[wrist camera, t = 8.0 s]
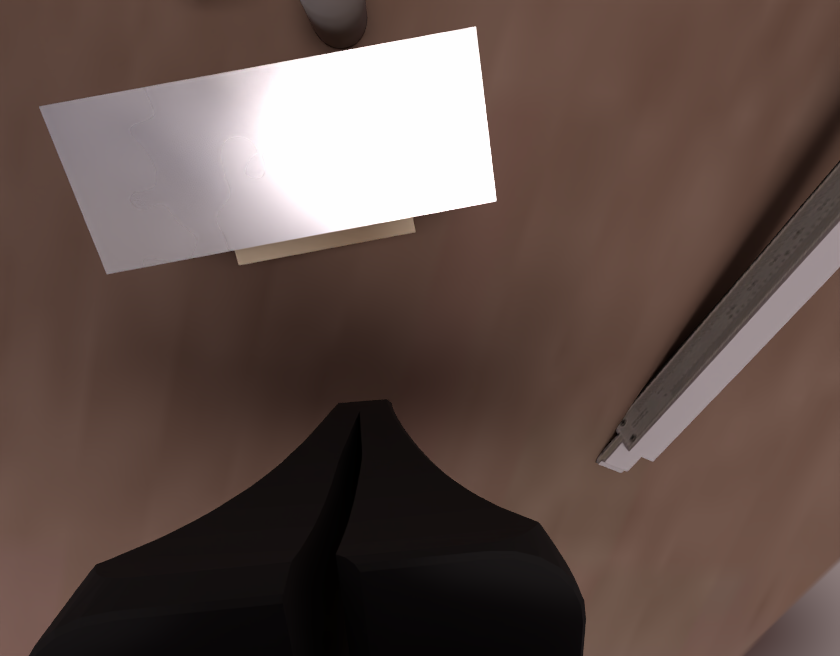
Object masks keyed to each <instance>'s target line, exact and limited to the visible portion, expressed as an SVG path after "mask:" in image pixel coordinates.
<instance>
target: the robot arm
mask: <svg viewBox="0 0 840 656" xmlns="http://www.w3.org/2000/svg"><path fill="white" fill-rule="evenodd" d="M585 624H586V615H585V604H584V599H583V597H582V595H581V593H580V590H579V587H578V585H577V583H576V580H575V578H574V576H573V574H572V572H571V571H570V569H569V567H568V565H567V563H566V562H565V560H564V559H563V557H562V555H561V554H560V552H559V551H558V549H557V548H556V546H555V545H554V543H553V542H552V540H551V539H550V537H549V536H548V534H547V533H546V531H545V530H544V529H543V527H542V526H541V524H540V523H539V522H537V521H534V520H532V519H529V518H526V517H524V516H521V515H519V514H516V513H514V512H511V511H509V510H506V509H504V508H501V507H499V506H497V505H495V504H493V503H491V502H489V501H487V500H485V499H483V498H481V497H479V496H478V495H476V494H474V493H472V492H471V491H469V490H467V489H466V488H464V487H463V486H461V485H460V484H458V483H457V482H456V481H454V480H453V479H451V478H450V477H449V476H447V475H446V474H445V473H444V472H442V471H441V470H440V469H439V468H438V467H437V466H436V465H435V464H434V463H433V462H432V461H431V460H430V459H429V458H428V457H427V456H426V455H425V454H424V453H423V452H422V451H421V450H420V449H419V447H418V446H417V445H416V444H415V443H414V441H413V440H412V439H411V438H410V436H409V435H408V433H407V432H406V431H405V429H404V428H403V426H402V425H401V423H400V421H399V420H398V418H397V416H396V414H395V412H394V410H393V407H392V403H391V402H390V401H388V400H387V399H385V400H373V401H360V402H348V403H338V404H337V405H336V407H335V408H334V409H333V410H332V411H331V412H330V413H329V414H328V415H327V417H326V418H325V419H324V420H323V421H322V422H321V423H320V425H319V426H318V427H317V428H316V429H315V430H314V431H313V432H312V433H311V435H310V436H309V437H308V438H307V439H306V440H305V441H304V442H303V443H302V444H301V445H300V446H299V447H298V448H297V449H296V450H295V451H293V452H292V453H291V454H290V455H289V456H288V457H287V458H286V459H285V460H284V461H283V462H282V463H281V464H279V465H278V466H277V467H276V468H275V469H273V470H272V471H271V472H270V473H268V474H267V475H266V476H264V477H263V478H262V479H260V480H259V481H258V482H256V483H255V484H254V485H252V486H251V487H249V488H248V489H247V490H245V491H243V492H242V493H240V494H239V495H237V496H236V497H234V498H232V499H231V500H229V501H228V502H226V503H224V504H223V505H221V506H220V507H218V508H217V509H215V510H213V511H211V512H210V513H208V514H206V515H204V516H202V517H201V518H199V519H197V520H195V521H193V522H191V523H189V524H187V525H185V526H184V527H182V528H180V529H178V530H176V531H174V532H172V533H170V534H167V535H165V536H163V537H161V538H159V539H157V540H155V541H152V542H150V543H147V544H145V545H143V546H140V547H138V548H136V549H133V550H131V551H128V552H126V553H124V554H121V555H119V556H117V557H114V558H112V559H109V560H107V561H104V562H102V563H99V564H96V565H95V567H94V568H93V569H92V570H91V571H90V573H89V574H88V575H87V577H86V578H85V579H84V581H83V582H82V583H81V585H80V586H79V587H78V589H77V590H76V591H75V592H74V594H73V595H72V597H71V598H70V599H69V601H68V602H67V603H66V605H65V606H64V607H63V609H62V610H61V611H60V613H59V614H58V615H57V617H56V618H55V619H54V621H53V622H52V623H51V625H50V626H49V627H48V629H47V630H46V631H45V633H44V634H43V635H42V637H41V638H40V639H39V641H38V642H37V643H36V645H35V646H34V648H33V650H32V651H31V653H30V655H29V656H583V648H584V636H585Z"/></svg>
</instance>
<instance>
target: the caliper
mask: <svg viewBox="0 0 840 656" xmlns="http://www.w3.org/2000/svg"><path fill="white" fill-rule="evenodd" d="M839 267H840V161H839V162H838V163H837V164H836V166H835V167H834V168H833V169H832V170H831V171H830V173H829V174H828V175H827V176H826V177H825V178H824V180H823V181H822V182H821V183H820V184H819V185H818V187H817V188H816V189H815V190H814V191H813V192H812V194H811V195H810V196H809V197H808V198H807V199H806V201H805V202H804V203H803V204H802V205H801V206H800V208H799V209H798V210H797V211H796V212H795V213H794V215H793V216H792V217H791V218H790V219H789V221H788V222H787V223H786V224H785V225H784V226H783V228H782V229H781V230H780V231H779V232H778V233H777V235H776V236H775V237H774V238H773V239H772V240H771V242H770V243H769V244H768V245H767V246H766V247H765V249H764V250H763V251H762V252H761V253H760V254H759V256H758V257H757V258H756V259H755V260H754V261H753V263H752V264H751V265H750V266H749V267H748V268H747V270H746V271H745V272H744V273H743V274H742V275H741V276H740V278H739V279H738V280H737V281H736V282H735V283H734V285H733V286H732V287H731V288H730V289H729V290H728V292H727V293H726V294H725V295H724V296H723V297H722V298H721V300H720V301H719V302H718V303H717V304H716V305H715V307H714V308H713V309H712V310H711V311H710V312H709V313H708V315H707V316H706V317H705V318H704V319H703V320H702V322H701V323H700V324H699V325H698V326H697V327H696V328H695V330H694V331H693V332H692V333H691V334H690V335H689V337H688V338H687V339H686V340H685V341H684V342H683V343H682V345H681V346H680V347H679V348H678V349H677V350H676V352H675V353H674V354H673V355H672V356H671V357H670V358H669V360H668V361H667V362H666V363H665V364H664V365H663V367H662V368H661V369H660V370H659V371H658V372H657V373H656V375H655V376H654V377H653V378H652V379H651V380H650V382H649V383H648V384H647V385H646V386H645V387H644V389H643V390H642V391H641V392H640V394H639V395H638V397H637V398H636V400H635V401H634V403H633V404H632V406H631V407H630V409H629V410H628V412H627V413H626V415H625V417H624V418H623V420H622V421H621V423H620V424H619V426H618V427H617V429H616V431H617V434H618V435H617V436H616V437H615V438H614V439H613V440H612V441H611V442H610V444H609V445H608V446H607V447H606V448H605V449H604V450H603V451H602V453H601V454H600V455H599V457H598V458H597V461H596V463H598V464H599V465H602V466H605V467H607V468H610V469H612V470H615V471H617V472H620V473H622V472H623V471H624V470H625V471H628V470H629V469H630V468H631V467H632V466H633V465H634V464H635V463H636V462H637V461H638V460H639V459H640V458H641V457H643V458H645V459H648V460H650V461H654V460H655V459H656V458H657V457H658V456H659V455H660V454H661V453H662V452H663V451H664V450H665V449H666V448H667V446H668V445H669V444H670V443H671V442H672V441H673V440H674V439H675V438H676V437H677V436H678V435H679V434H680V433H681V432H682V431H683V430H684V429H685V428H686V427H687V426H688V425H689V424H690V423H691V422H692V421H693V419H694V418H695V417H696V416H697V415H698V414H699V413H700V412H701V411H702V410H703V409H704V408H705V407H706V406H707V405H708V404H709V403H710V402H711V401H712V400H713V399H714V398H715V397H716V396H717V395H718V394H719V392H720V391H721V390H722V389H723V388H724V387H725V386H726V385H727V384H728V383H729V382H730V381H731V380H732V379H733V378H734V377H735V376H736V375H737V374H738V373H739V372H740V371H741V370H742V369H743V368H744V366H745V365H746V364H747V363H748V362H749V361H750V360H751V359H752V358H753V357H754V356H755V355H756V354H757V353H758V352H759V351H760V350H761V349H762V348H763V347H764V346H765V345H766V343H767V342H768V341H769V340H770V339H771V338H772V337H773V336H774V335H775V334H776V333H777V332H778V331H779V330H780V329H781V328H782V327H783V326H784V325H785V324H786V323H787V322H788V320H789V319H790V318H791V317H792V316H793V315H794V314H795V313H796V312H797V311H798V310H799V309H800V308H801V307H802V306H803V305H804V304H805V303H806V302H807V301H808V300H809V298H810V297H811V296H812V295H813V294H814V293H815V292H816V291H817V290H818V289H819V288H820V287H821V286H822V285H823V284H824V283H825V282H826V281H827V280H828V279H829V278H830V276H831V275H832V274H833V273H834V272H835V271H836V270H837V269H838V268H839Z"/></svg>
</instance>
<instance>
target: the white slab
mask: <svg viewBox="0 0 840 656" xmlns="http://www.w3.org/2000/svg"><path fill="white" fill-rule="evenodd" d="M39 108H40V110H41V113H42V115H43V118H44V120H45V123H46V125H47V128H48V130H49V133H50V135H51V138H52V140H53V142H54V145H55V147H56V150H57V152H58V155H59V157H60V160H61V162H62V165H63V167H64V170H65V172H66V175H67V177H68V180H69V182H70V185H71V187H72V189H73V192H74V194H75V197H76V199H77V202H78V204H79V207H80V209H81V212H82V214H83V217H84V219H85V222H86V224H87V227H88V229H89V232H90V234H91V237H92V239H93V241H94V244H95V246H96V249H97V251H98V254H99V256H100V259H101V261H102V264H103V266H104V269H105V271H106V274H111V273H116V272H122V271H127V270H132V269H138V268H143V267H148V266H154V265H159V264H164V263H170V262H175V261H180V260H186V259H191V258H196V257H202V256H207V255H212V254H218V253H223V252H228V251H234V250H239V249H244V248H250V247H255V246H260V245H266V244H271V243H276V242H282V241H287V240H292V239H297V238H303V237H308V236H313V235H319V234H324V233H329V232H335V231H340V230H345V229H351V228H356V227H361V226H367V225H372V224H377V223H383V222H388V221H393V220H399V219H404V218H409V217H415V216H420V215H425V214H431V213H436V212H441V211H447V210H452V209H457V208H463V207H468V206H473V205H479V204H484V203H489V202H495V201H496V193H495V185H494V177H493V168H492V160H491V151H490V143H489V134H488V126H487V117H486V109H485V100H484V92H483V83H482V75H481V67H480V58H479V50H478V41H477V33H476V27H471V28H466V29H460V30H455V31H449V32H444V33H438V34H433V35H427V36H422V37H417V38H411V39H406V40H400V41H395V42H389V43H384V44H378V45H373V46H367V47H362V48H356V49H351V50H345V51H340V52H334V53H329V54H323V55H318V56H313V57H307V58H302V59H296V60H291V61H285V62H280V63H274V64H269V65H263V66H258V67H252V68H247V69H241V70H236V71H230V72H225V73H220V74H214V75H209V76H203V77H198V78H192V79H187V80H181V81H176V82H170V83H165V84H159V85H154V86H148V87H143V88H137V89H132V90H126V91H121V92H116V93H110V94H105V95H99V96H94V97H88V98H83V99H77V100H72V101H66V102H61V103H55V104H50V105H44V106H39Z"/></svg>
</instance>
